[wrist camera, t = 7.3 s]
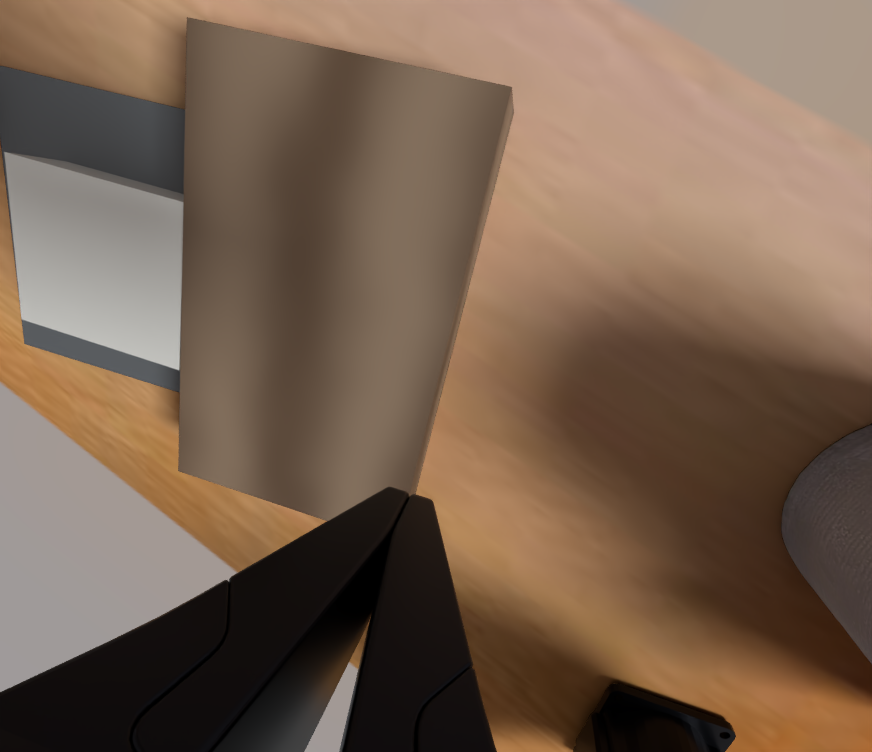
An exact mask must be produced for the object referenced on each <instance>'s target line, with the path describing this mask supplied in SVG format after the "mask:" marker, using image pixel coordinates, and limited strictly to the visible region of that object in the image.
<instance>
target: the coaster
mask: <svg viewBox="0 0 872 752" xmlns="http://www.w3.org/2000/svg"><path fill="white" fill-rule="evenodd" d="M4 154H5V164H6V173H7V183H8V193H9V202H10V212H11V221H12V231H13V240H14V250H15V260H16V269H17V279H18V288H19V298H20V307H21V317H22V320H25V321H28V322H31V323H35V324H38V325H41V326H44V327H47V328H50V329H53V330H56V331H59V332H62V333H65V334H69V335H72V336H75V337H78V338H81V339H84V340H87V341H90V342H93V343H96V344H99V345H103V346H106V347H109V348H112V349H115V350H118V351H121V352H124V353H127V354H130V355H133V356H136V357H140V358H143V359H146V360H149V361H152V362H155V363H158V364H161V365H164V366H167V367H170V368H174V369H177V370H180V359H181V306H182V253H183V200H184V194H181V193H178V192H174V191H171V190H167V189H163V188H160V187H156V186H153V185H149V184H145V183H142V182H138V181H135V180H131V179H128V178H124V177H120V176H117V175H113V174H110V173H106V172H103V171H99V170H95V169H92V168H88V167H85V166H81V165H77V164H74V163H70V162H67V161H60V160H54V159H47V158H41V157H34V156H28V155H21V154H15V153H9V152H4Z"/></svg>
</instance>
